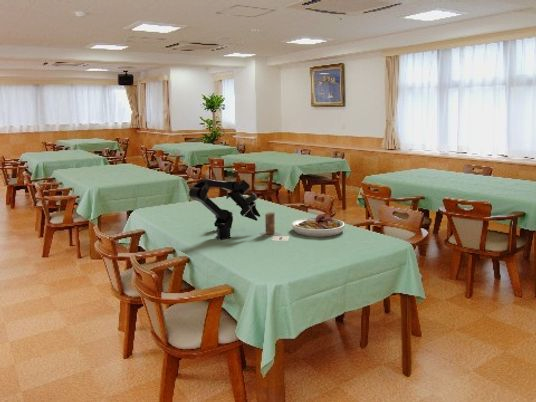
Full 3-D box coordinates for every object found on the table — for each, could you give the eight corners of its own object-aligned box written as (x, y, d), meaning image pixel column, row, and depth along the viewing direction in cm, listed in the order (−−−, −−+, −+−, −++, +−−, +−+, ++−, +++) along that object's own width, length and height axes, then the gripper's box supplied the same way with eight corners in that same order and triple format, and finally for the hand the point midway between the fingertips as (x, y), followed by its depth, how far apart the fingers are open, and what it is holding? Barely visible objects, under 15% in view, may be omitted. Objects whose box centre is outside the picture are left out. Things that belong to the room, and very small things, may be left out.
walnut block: (265, 235, 276) (265, 214, 274) (266, 232, 281) (266, 212, 278) (273, 235, 276) (273, 214, 273) (274, 233, 280) (274, 212, 278)
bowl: (342, 239, 267) (343, 225, 266) (288, 237, 273) (288, 223, 271) (345, 226, 296) (345, 213, 294) (296, 224, 302) (296, 212, 300)
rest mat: (267, 237, 272) (267, 236, 272) (259, 234, 280) (259, 233, 280) (281, 235, 277) (281, 234, 277) (272, 231, 284) (272, 231, 284)
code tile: (271, 240, 265) (271, 240, 265) (273, 236, 274) (273, 236, 274) (288, 241, 264) (288, 240, 264) (289, 236, 273) (289, 236, 273)
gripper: (245, 192, 266) (265, 212, 266) (251, 186, 284) (270, 205, 284) (231, 206, 269) (251, 226, 269) (238, 199, 287) (257, 218, 287)
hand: (258, 218), depth 277 cm, fingers open, 9 cm apart
